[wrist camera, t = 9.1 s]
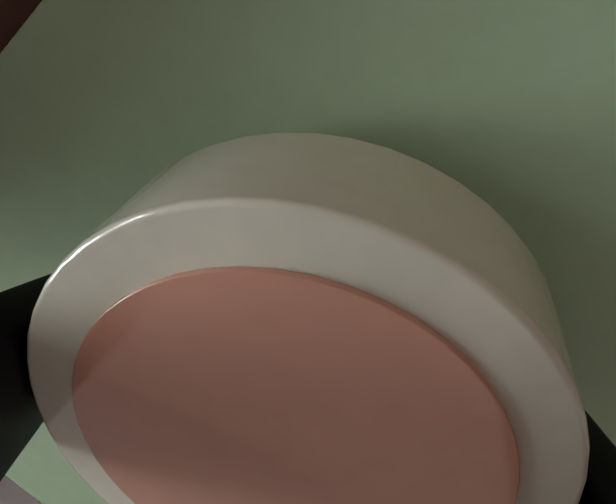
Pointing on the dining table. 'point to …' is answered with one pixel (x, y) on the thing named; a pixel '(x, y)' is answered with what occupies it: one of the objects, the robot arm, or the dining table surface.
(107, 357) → the cream dish
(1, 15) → the dining table surface
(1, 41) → the dining table surface
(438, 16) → the placemat
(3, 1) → the dining table surface
